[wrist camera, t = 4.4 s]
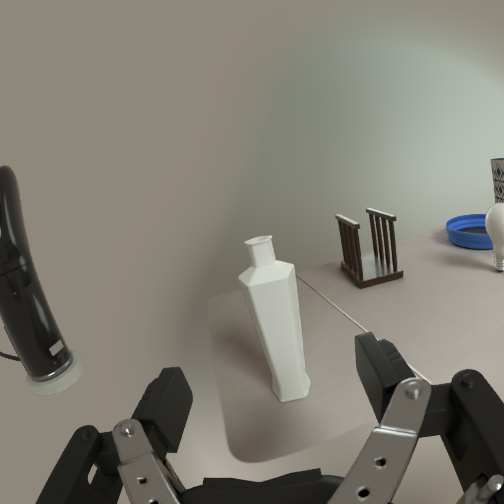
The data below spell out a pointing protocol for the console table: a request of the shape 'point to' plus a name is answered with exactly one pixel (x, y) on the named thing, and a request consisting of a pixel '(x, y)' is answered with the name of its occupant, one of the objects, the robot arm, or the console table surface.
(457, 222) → the bowl
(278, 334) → the perfume bottle
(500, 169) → the planter
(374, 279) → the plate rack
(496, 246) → the lightbulb
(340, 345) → the console table surface
